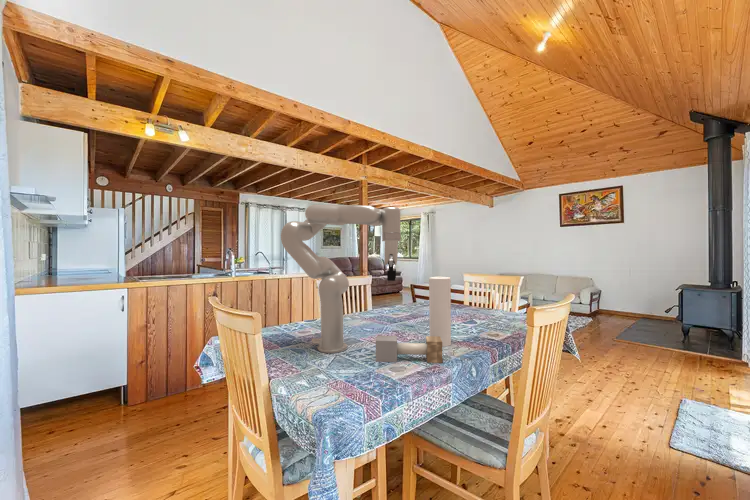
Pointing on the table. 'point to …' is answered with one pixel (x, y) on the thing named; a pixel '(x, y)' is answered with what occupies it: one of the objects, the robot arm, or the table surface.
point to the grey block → (386, 349)
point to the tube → (412, 348)
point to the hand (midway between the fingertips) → (391, 279)
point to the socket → (434, 349)
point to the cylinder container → (440, 308)
